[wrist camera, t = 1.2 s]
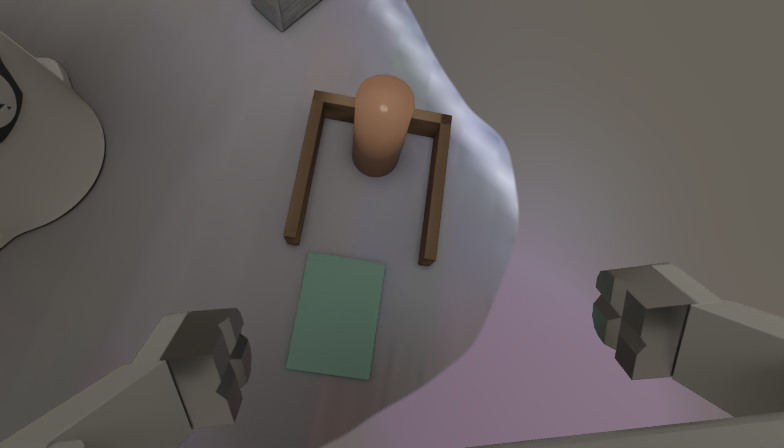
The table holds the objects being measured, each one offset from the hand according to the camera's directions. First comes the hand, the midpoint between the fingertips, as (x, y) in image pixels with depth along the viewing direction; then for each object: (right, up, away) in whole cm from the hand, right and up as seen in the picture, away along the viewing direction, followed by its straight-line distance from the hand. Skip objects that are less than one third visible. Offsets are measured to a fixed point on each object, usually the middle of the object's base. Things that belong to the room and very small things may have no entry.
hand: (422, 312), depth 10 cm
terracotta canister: (-2, +9, +32) cm, 34 cm away
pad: (-5, -6, +28) cm, 29 cm away
